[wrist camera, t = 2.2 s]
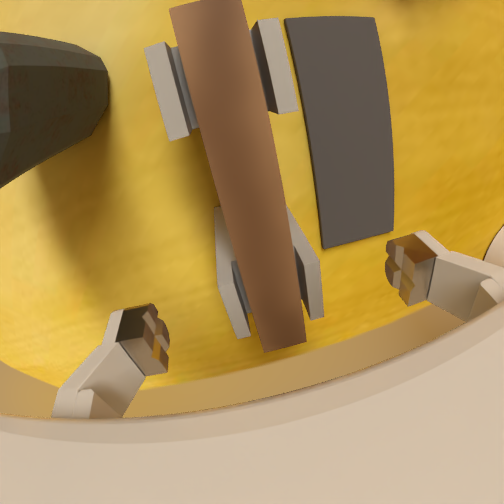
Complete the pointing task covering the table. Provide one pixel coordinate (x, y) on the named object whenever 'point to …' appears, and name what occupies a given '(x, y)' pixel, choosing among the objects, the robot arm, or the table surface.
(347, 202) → the mat
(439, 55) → the table surface
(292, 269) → the rail
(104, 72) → the bottle
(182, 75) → the post
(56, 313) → the table surface
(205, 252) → the table surface
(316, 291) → the post
